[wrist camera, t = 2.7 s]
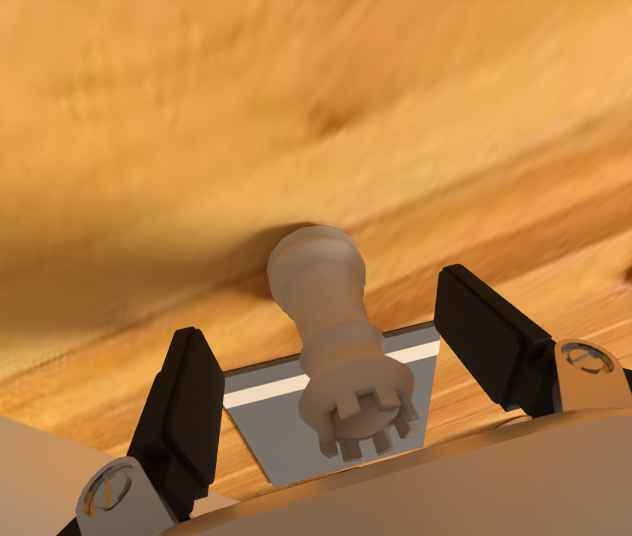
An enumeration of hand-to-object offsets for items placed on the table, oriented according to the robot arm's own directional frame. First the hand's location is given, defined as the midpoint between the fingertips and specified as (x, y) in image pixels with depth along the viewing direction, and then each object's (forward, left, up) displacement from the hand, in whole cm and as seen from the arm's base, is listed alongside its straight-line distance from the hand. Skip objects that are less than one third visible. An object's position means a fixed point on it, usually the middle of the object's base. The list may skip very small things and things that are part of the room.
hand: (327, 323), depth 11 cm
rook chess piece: (-1, 0, -4) cm, 4 cm away
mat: (+13, 0, -3) cm, 14 cm away
